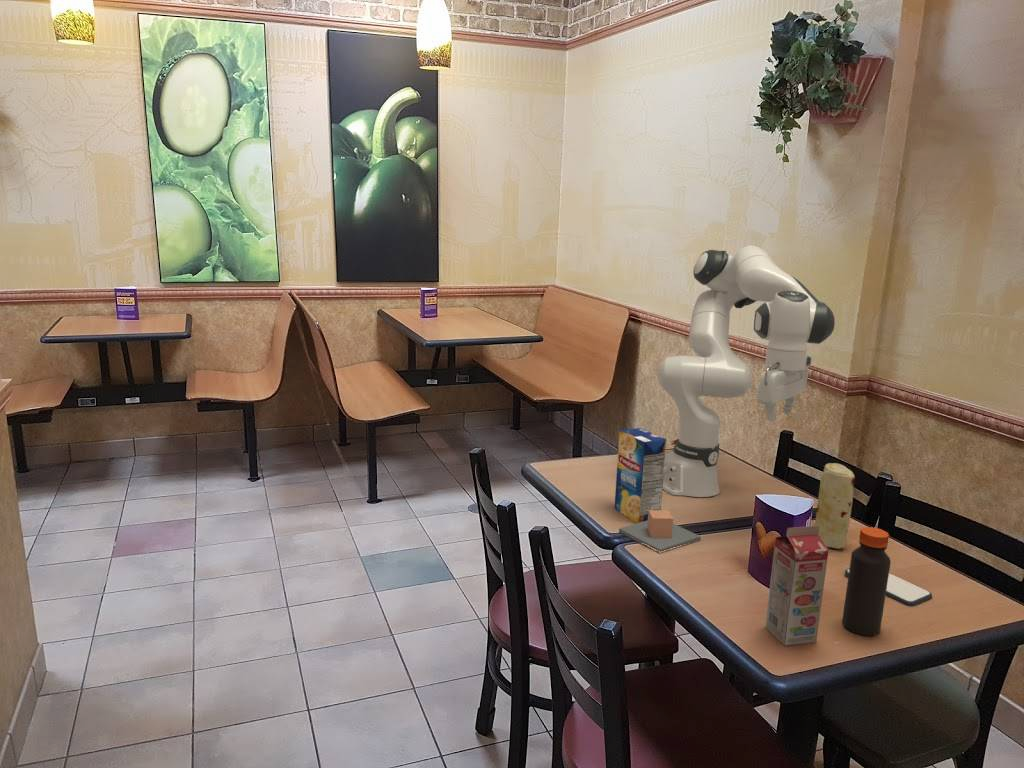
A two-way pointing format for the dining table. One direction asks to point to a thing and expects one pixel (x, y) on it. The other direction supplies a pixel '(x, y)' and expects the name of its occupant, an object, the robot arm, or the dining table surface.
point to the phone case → (904, 591)
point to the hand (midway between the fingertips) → (779, 416)
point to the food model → (835, 504)
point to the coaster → (660, 544)
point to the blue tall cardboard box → (639, 473)
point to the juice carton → (797, 585)
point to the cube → (660, 524)
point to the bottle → (867, 583)
